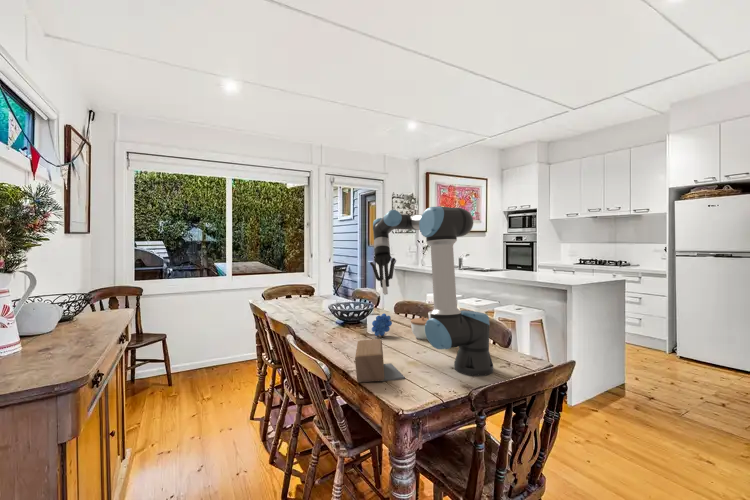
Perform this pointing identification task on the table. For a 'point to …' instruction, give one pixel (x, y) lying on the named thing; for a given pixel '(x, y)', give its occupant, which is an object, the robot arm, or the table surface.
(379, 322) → the grapes
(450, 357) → the table surface
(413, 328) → the lidded bowl
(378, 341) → the wooden block
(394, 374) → the rubber mat
